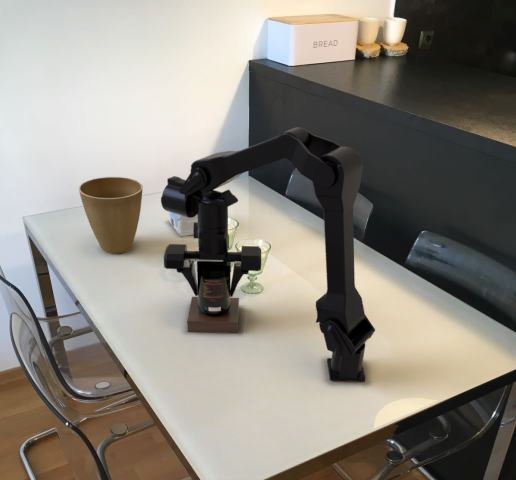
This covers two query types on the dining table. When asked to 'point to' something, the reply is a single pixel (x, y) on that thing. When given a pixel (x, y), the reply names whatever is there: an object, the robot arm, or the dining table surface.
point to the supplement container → (213, 287)
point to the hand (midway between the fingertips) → (214, 295)
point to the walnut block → (213, 319)
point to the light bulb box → (182, 223)
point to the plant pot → (112, 211)
